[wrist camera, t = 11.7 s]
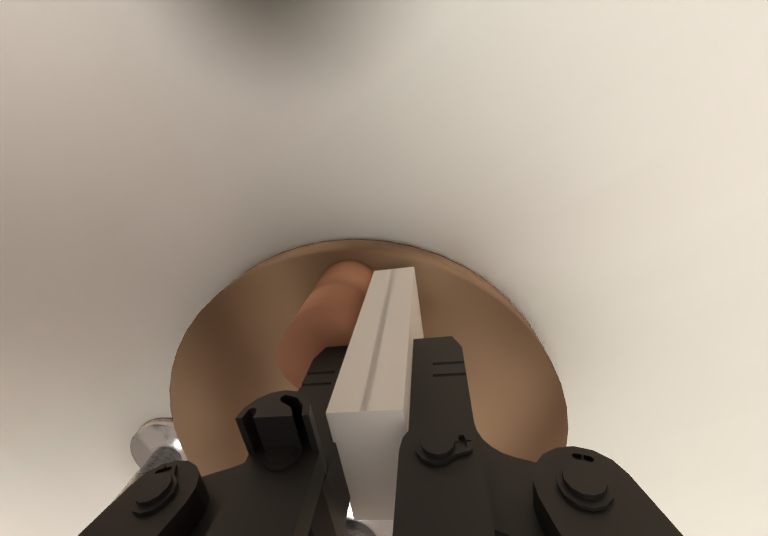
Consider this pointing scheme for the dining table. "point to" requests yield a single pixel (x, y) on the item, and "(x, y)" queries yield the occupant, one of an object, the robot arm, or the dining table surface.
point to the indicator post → (155, 447)
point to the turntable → (335, 328)
